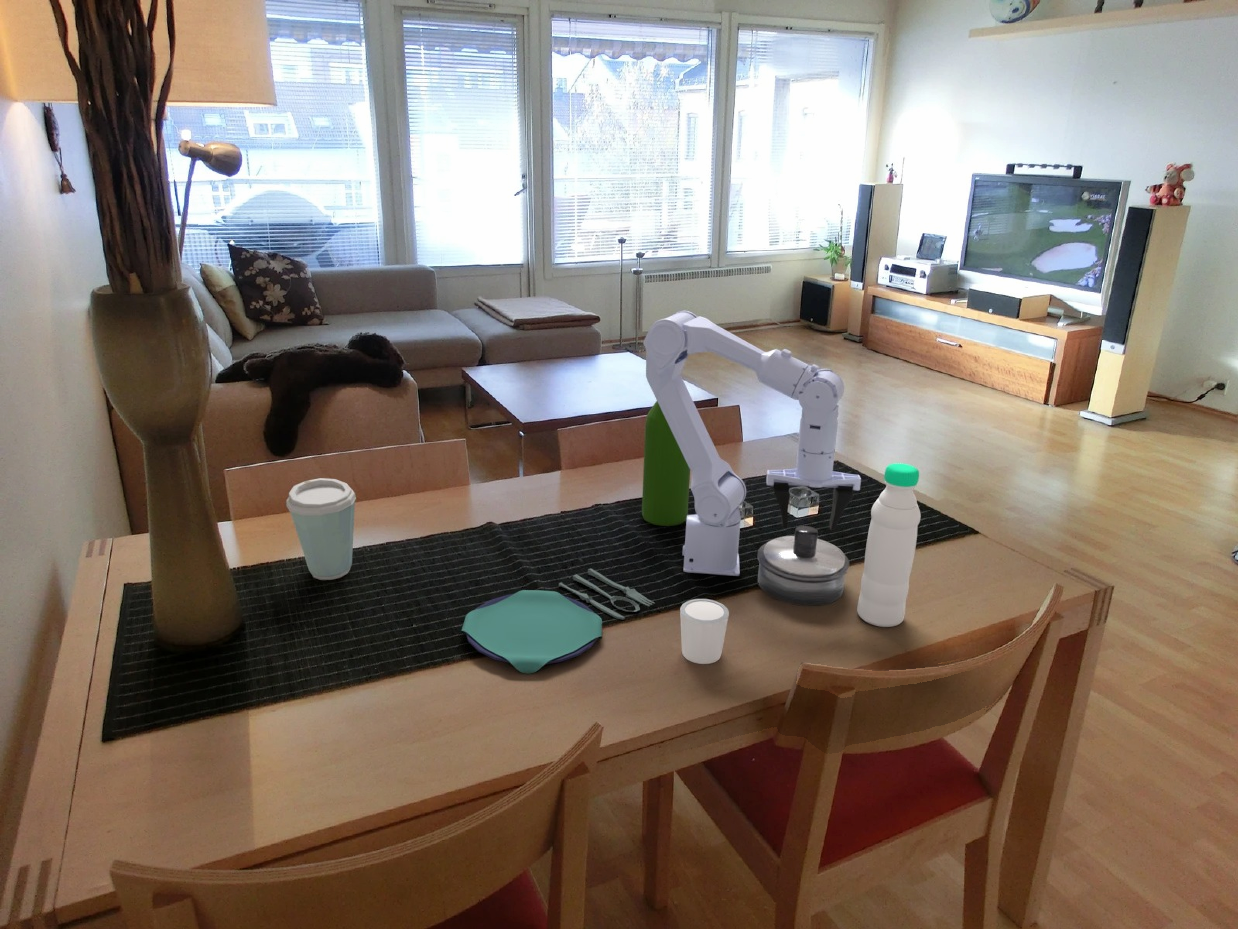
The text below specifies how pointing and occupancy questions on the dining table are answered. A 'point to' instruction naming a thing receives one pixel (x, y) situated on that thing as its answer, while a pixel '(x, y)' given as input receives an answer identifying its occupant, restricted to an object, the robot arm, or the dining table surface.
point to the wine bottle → (663, 473)
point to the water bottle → (890, 548)
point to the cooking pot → (800, 585)
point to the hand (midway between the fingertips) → (808, 527)
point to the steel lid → (804, 555)
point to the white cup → (703, 630)
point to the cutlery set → (541, 624)
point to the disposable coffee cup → (324, 525)
